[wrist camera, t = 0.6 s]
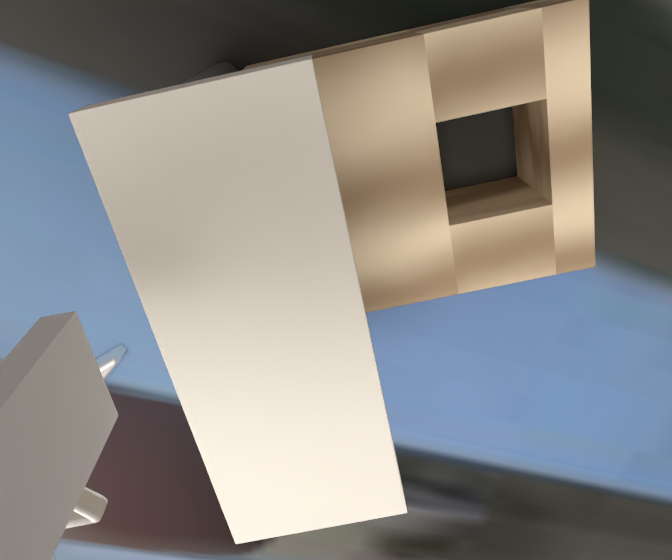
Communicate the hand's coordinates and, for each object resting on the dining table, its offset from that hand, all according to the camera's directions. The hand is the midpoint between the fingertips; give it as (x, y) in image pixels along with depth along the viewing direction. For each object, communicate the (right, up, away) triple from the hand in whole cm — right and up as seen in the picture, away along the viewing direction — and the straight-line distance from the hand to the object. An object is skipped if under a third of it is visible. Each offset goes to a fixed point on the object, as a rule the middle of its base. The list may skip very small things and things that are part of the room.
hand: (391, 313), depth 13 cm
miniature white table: (-4, +7, +24) cm, 26 cm away
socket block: (+4, +9, +24) cm, 26 cm away
